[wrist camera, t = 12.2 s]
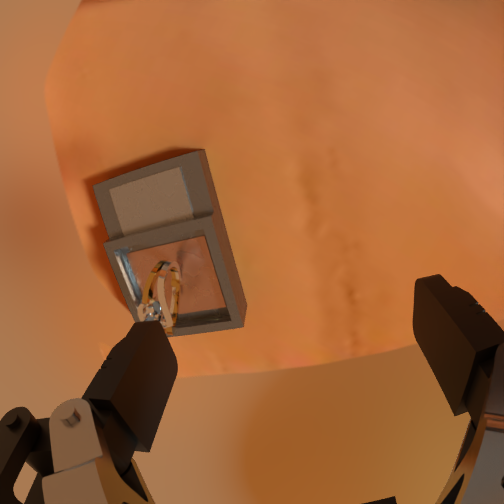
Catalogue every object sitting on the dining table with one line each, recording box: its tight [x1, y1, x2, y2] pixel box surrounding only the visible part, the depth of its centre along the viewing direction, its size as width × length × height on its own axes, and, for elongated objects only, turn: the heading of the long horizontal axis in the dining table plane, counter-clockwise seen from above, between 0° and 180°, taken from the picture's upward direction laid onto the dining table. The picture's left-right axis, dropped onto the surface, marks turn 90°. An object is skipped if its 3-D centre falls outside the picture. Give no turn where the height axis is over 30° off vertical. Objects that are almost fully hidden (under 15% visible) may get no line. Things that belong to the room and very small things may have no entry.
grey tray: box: [93, 149, 247, 337], centre depth 32 cm, size 18×12×4 cm, turn 14°
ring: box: [138, 260, 182, 335], centre depth 28 cm, size 7×3×8 cm, turn 174°
